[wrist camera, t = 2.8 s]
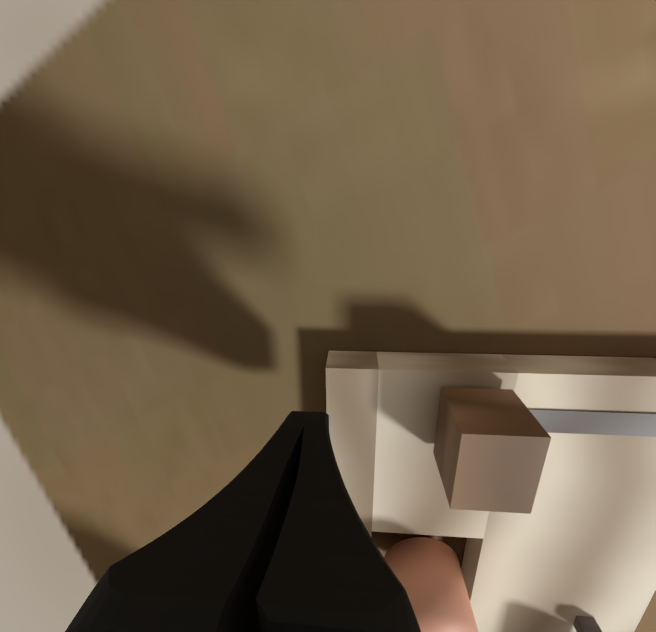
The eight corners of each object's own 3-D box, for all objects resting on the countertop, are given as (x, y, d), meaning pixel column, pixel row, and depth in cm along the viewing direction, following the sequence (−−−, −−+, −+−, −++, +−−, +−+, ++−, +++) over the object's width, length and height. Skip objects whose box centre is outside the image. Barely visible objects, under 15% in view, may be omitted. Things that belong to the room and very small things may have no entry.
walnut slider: (433, 452, 13) (450, 509, 11) (440, 387, 12) (461, 433, 10) (498, 455, 13) (530, 513, 10) (512, 389, 12) (551, 437, 9)
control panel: (332, 626, 20) (329, 690, 18) (328, 350, 14) (322, 386, 11) (588, 649, 19) (625, 721, 16) (716, 358, 13) (811, 401, 10)
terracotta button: (382, 584, 17) (387, 660, 14) (385, 534, 16) (392, 608, 13) (453, 589, 17) (473, 669, 14) (462, 539, 15) (486, 616, 13)
